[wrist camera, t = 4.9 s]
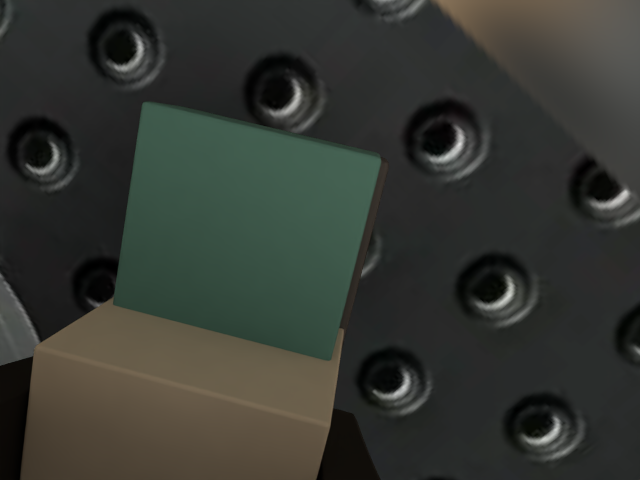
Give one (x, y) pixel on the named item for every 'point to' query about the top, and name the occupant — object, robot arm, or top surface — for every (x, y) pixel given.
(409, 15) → the top surface
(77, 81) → the top surface
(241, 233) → the tan and green block
